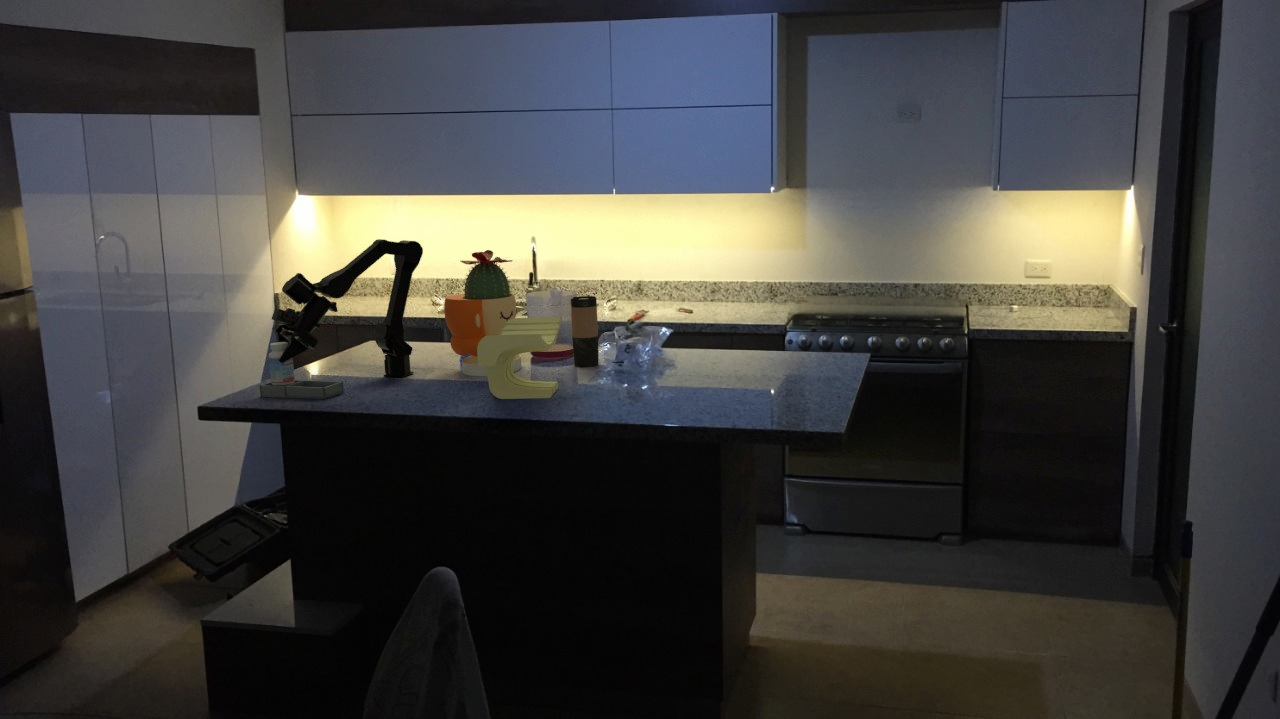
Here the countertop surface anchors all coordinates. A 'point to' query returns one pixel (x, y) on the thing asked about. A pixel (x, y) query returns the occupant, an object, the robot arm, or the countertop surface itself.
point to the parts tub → (303, 389)
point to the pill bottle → (280, 366)
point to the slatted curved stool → (513, 341)
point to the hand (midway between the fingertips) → (275, 360)
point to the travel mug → (584, 331)
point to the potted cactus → (480, 310)
